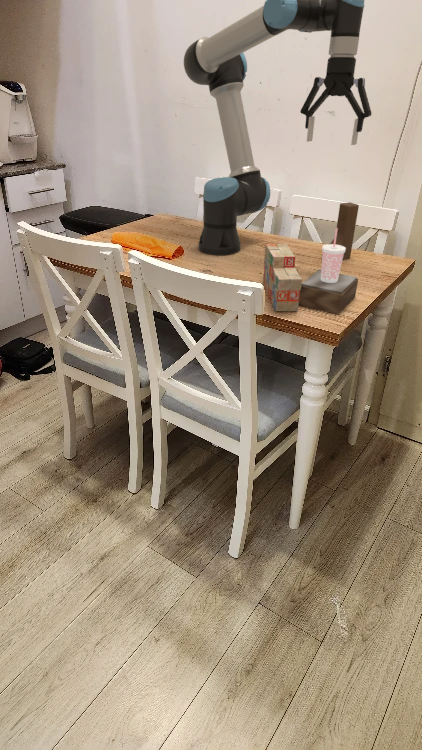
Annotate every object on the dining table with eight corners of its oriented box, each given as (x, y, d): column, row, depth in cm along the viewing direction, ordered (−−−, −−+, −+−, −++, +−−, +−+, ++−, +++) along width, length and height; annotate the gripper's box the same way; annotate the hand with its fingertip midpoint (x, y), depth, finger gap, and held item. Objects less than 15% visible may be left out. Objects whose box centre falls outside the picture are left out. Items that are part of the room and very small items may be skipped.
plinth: (296, 304, 133) (299, 283, 130) (315, 288, 143) (317, 268, 140) (339, 314, 128) (342, 293, 125) (355, 296, 138) (358, 276, 135)
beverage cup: (313, 279, 132) (320, 228, 125) (325, 274, 136) (332, 223, 129) (333, 285, 129) (341, 233, 121) (344, 279, 133) (353, 228, 125)
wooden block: (329, 262, 163) (337, 207, 154) (321, 258, 167) (328, 204, 157) (350, 258, 167) (359, 204, 157) (341, 254, 170) (350, 201, 161)
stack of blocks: (298, 312, 129) (303, 267, 122) (275, 312, 128) (279, 268, 122) (282, 282, 147) (286, 242, 140) (262, 283, 147) (265, 242, 140)
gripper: (392, 56, 129) (377, 144, 140) (304, 57, 139) (296, 138, 151) (385, 55, 123) (369, 147, 134) (294, 56, 134) (287, 140, 145)
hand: (331, 142), depth 143 cm, fingers open, 13 cm apart
